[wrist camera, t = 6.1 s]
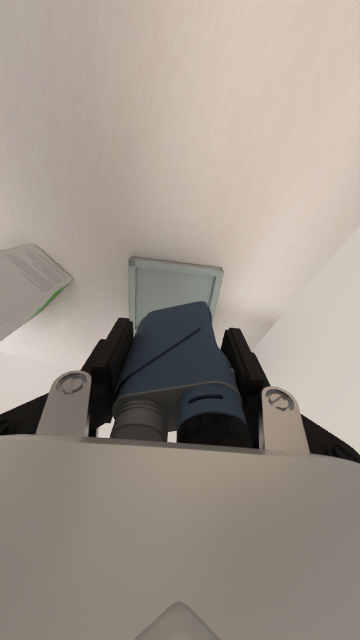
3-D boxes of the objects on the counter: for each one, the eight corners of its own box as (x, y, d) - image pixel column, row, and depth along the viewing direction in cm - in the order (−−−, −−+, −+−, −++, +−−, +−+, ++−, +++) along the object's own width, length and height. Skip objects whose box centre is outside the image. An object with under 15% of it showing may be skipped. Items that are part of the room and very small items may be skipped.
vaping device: (218, 329, 14) (314, 664, 4) (147, 342, 15) (61, 660, 4) (212, 296, 13) (331, 651, 3) (135, 312, 14) (-20, 648, 3)
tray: (132, 256, 27) (128, 259, 25) (221, 267, 27) (223, 271, 26) (131, 327, 32) (129, 333, 31) (206, 334, 33) (207, 341, 31)
